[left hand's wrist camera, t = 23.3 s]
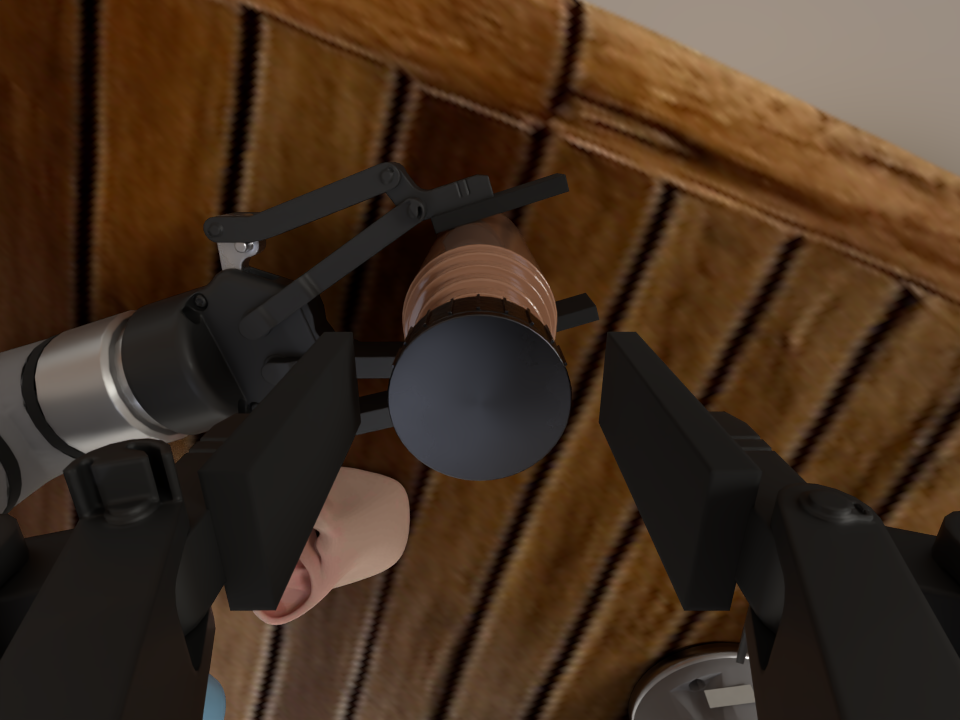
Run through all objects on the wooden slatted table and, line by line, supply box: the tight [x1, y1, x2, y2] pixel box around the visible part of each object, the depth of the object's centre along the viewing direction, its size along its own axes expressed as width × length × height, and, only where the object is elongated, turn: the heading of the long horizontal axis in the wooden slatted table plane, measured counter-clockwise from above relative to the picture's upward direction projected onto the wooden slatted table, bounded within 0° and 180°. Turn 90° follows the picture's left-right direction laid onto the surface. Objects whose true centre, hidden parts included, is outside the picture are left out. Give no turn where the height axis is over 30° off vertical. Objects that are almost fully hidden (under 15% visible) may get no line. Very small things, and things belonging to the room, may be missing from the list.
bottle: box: [402, 213, 557, 341], centre depth 23 cm, size 6×6×20 cm
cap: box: [388, 294, 572, 481], centre depth 13 cm, size 5×5×2 cm
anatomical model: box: [253, 467, 410, 625], centre depth 38 cm, size 13×4×12 cm
